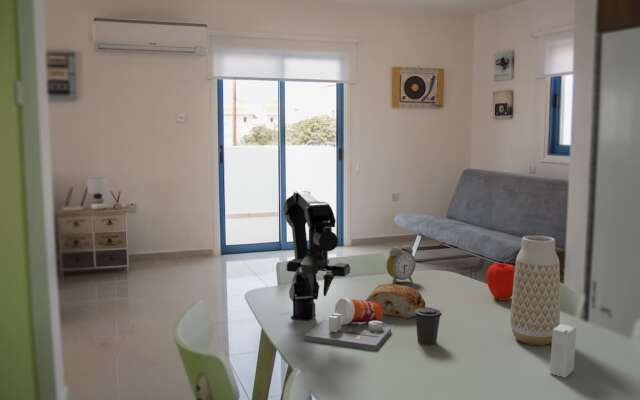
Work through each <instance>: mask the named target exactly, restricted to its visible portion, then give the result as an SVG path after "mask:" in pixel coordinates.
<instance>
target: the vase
mask: <svg viewBox="0 0 640 400" xmlns="http://www.w3.org/2000/svg"><path fill="white" fill-rule="evenodd" d="M560 265H561V264H560V259H559V257H558V254H557V252H556V239H555V238H553V237H551V236H544V235H524V236H523V237H522V238H521V248H520V250H519V252H518V254H517V256H516V259H515V265H514V266H515V274H514V284H513V294H512V296H511V305H510V306H511V307H510V328H511V331H512V333H513V336H514V337H515V338H516V339H517V340H518V341H519V342H521V343H523V344H526V343H527V345H530V344H533V345H532V346H547V345H550V344H552V335H553V329H555V328H556V327H557V326H559V325H560V324H561V322H560V320H561V297H560V296H561V293H560V292H561V280H560V279H561V276H560V275H561V274H560V269H561V268H560ZM549 343H550V344H549ZM546 344H547V345H546Z"/></svg>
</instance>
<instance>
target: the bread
mask: <svg viewBox="0 0 640 400" xmlns="http://www.w3.org/2000/svg"><path fill="white" fill-rule="evenodd" d="M364 301H368V302H374V303H379V304H380V305H381V306H382V308H383V316H389V317H396V318H397V317H399V318H408V319H410V318H414V317H415V314H414V311H415V310H416V309H419V308H426V301H425V299H424V298H423V296H422V295H421V293H420V292H419V291H418V290H417V289H415V288H413V287H410V286H407V285H401V284H396V283H395V284H392V283H384V284H381V285H378V286H376V287H375V288H374V289H372V291H371V292H370V294H369V295H368V296H367V298H366V299H365V300H364Z"/></svg>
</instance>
